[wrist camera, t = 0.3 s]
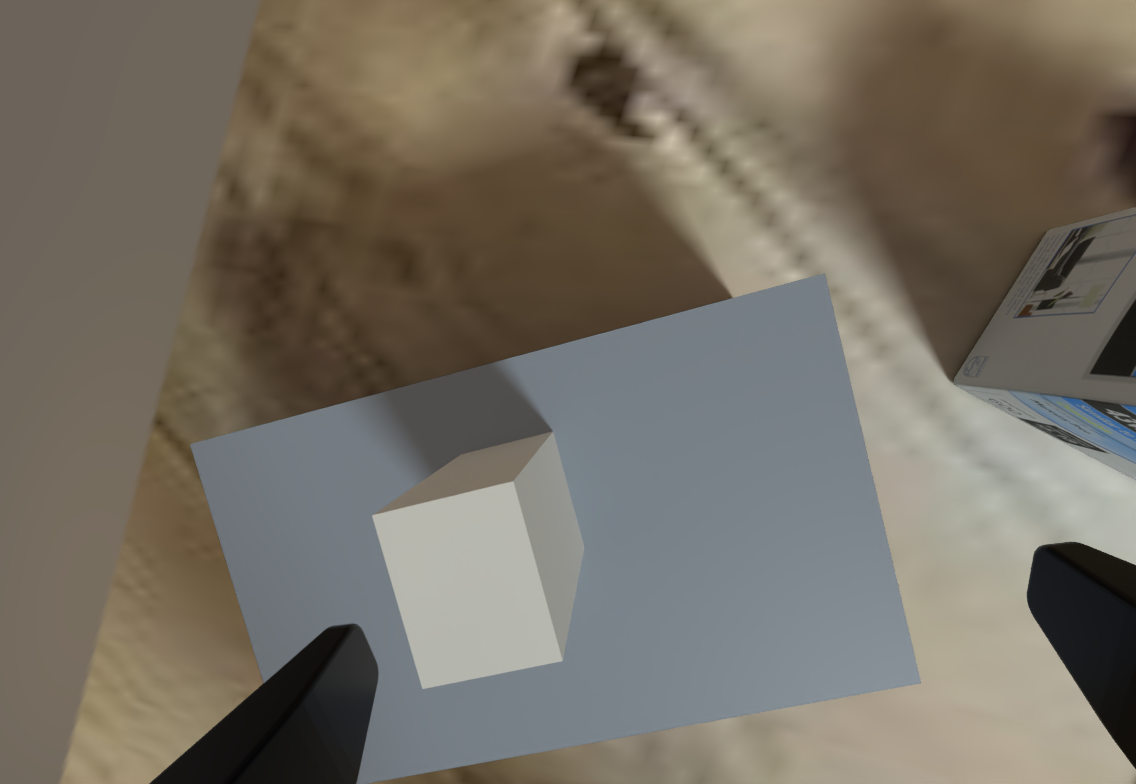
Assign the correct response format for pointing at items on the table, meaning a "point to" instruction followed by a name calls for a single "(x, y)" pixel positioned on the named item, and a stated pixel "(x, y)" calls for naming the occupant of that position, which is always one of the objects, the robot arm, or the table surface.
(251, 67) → the table surface
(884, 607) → the carton lid
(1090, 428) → the light bulb box
